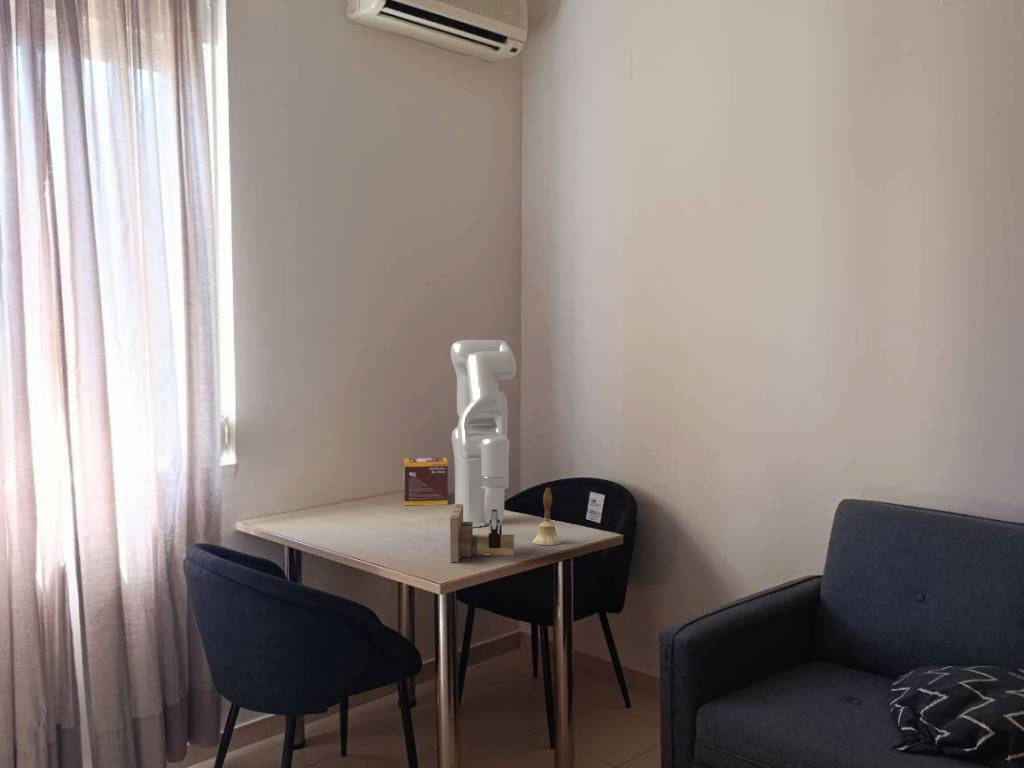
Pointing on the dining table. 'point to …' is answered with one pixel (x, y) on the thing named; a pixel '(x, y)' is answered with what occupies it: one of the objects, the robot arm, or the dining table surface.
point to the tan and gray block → (482, 547)
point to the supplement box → (425, 481)
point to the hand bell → (547, 524)
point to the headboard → (460, 535)
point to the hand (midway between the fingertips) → (495, 543)
